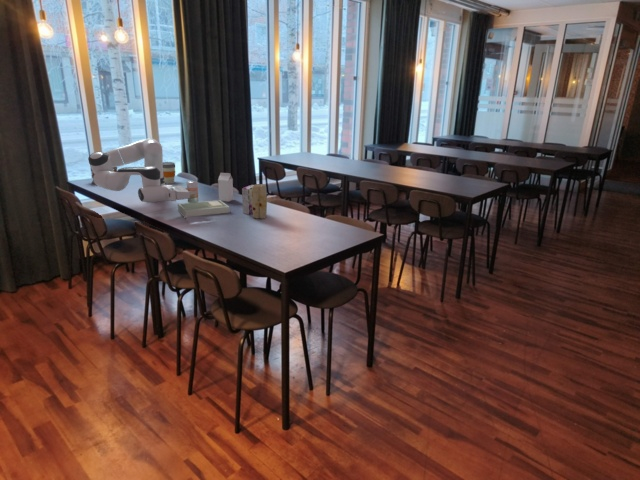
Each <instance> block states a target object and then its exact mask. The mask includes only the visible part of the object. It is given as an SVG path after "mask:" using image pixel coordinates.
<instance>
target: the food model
mask: <svg viewBox="0 0 640 480" xmlns="http://www.w3.org/2000/svg"><path fill="white" fill-rule="evenodd" d="M253 185H254V186H253V187H252V211H253V213H252V216H253V219H257V220H260V219H265V218H266V217H267V211H268V209H267V208H268V207H267V206H268V195H267V186H266V184H263V183H257V184H253Z"/></svg>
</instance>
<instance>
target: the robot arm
mask: <svg viewBox="0 0 640 480" xmlns="http://www.w3.org/2000/svg"><path fill="white" fill-rule="evenodd" d="M163 156H164V155H163V145H162V144H161V142H159V140H157V139H155V138H151V137H148V138H145V139H141V140H137V141H136V142H133V143H130V144H126V145H123V146H120V147H119V146H118V147H115V148H112V149H110V150H108V151H105V152H103V151H94V152H91V154H89V156H88V160H87V161H88V163H89V165H90V169H91V168H92V171H93V173H94V174H95V175H94V182H95V184H94V185H96V186H97V187H99V188H102V189H105V190H109V191H112V192H113V191H114V192H120V191H124V190H125V189H126V188H127V186H128V185H129V181H130V178H131V176H140V177H141V183H142V187H139V188H138V190H137V195H138V199H139V201H141V202H144V203H156V202H160V201H162V202H167V201H168V202H169V201H170V202H176V201H182V200H188V198H190V195H193V194H196V191H188V190H187V187H184V186H183V185H173V184H165V179H164V177H163V158H164V157H163ZM143 159H144V160H143ZM140 160H143V161H144V166H142V167H141V166H138V167H137V166H130V167H128V166H127V167H122V166H126V165H129V164H132V163H135V162H139V161H140ZM113 167H117V172H114V169H113ZM118 167H121V168H119V169H118ZM92 171H91V172H92Z"/></svg>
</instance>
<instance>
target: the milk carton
mask: <svg viewBox="0 0 640 480" xmlns="http://www.w3.org/2000/svg"><path fill="white" fill-rule="evenodd" d="M217 184H218V200H221V201H222V202H226V203H227V202H228V203H229V202H231V201H234V185H233V184H234V179H233V176H232V175H231V173H229V172H220V173H219V176H218V179H217Z"/></svg>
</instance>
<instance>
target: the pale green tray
mask: <svg viewBox="0 0 640 480" xmlns="http://www.w3.org/2000/svg"><path fill="white" fill-rule="evenodd" d="M213 201H214V200H205V201H198V203H188V202H183V203H177V208H178V209H177V211H178V212H179V214H181V215H182V217H183V218H185V220H186V219H187V218H191V217H198V216H208V215H218V214H227V213H228V214H229V213H230V211H231V210H230V209H231V208H230V206H229V205H228V204H226V203H225V201H221V200H219V199H216V200H215V201H218V202H219V203H221V204H222V205H223V207H217V208H208V202H213Z"/></svg>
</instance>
